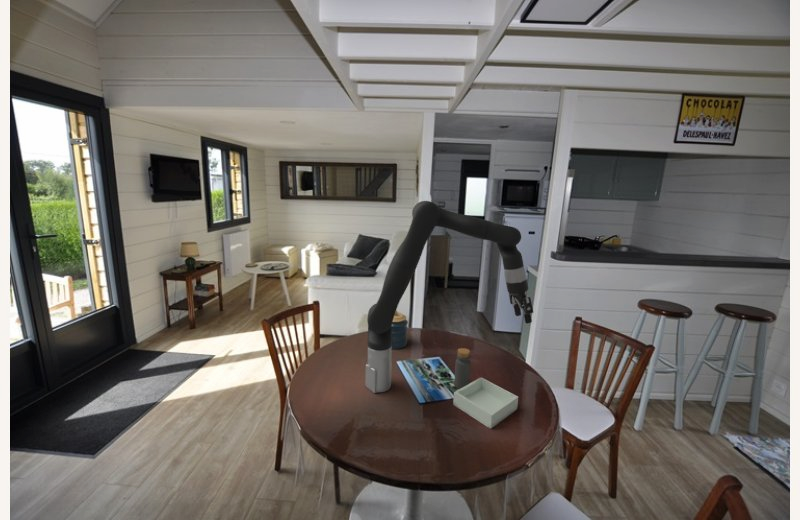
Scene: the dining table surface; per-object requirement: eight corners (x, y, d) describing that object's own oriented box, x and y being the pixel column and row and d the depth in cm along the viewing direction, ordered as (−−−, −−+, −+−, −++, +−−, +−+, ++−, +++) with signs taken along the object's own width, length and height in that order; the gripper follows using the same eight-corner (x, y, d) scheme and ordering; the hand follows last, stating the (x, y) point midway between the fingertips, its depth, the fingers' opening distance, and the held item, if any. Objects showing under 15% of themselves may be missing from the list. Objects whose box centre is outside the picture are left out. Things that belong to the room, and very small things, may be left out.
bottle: (469, 390, 128) (471, 355, 125) (453, 388, 129) (456, 353, 126) (469, 382, 134) (471, 348, 131) (454, 380, 135) (456, 346, 132)
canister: (383, 337, 173) (384, 305, 170) (408, 338, 172) (409, 306, 169) (379, 348, 161) (380, 314, 157) (406, 350, 159) (407, 316, 156)
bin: (490, 429, 107) (491, 415, 106) (453, 404, 119) (453, 392, 118) (517, 409, 118) (518, 396, 117) (480, 388, 130) (481, 377, 129)
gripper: (499, 277, 130) (506, 315, 133) (514, 285, 116) (522, 328, 118) (517, 272, 130) (524, 311, 133) (534, 280, 116) (542, 322, 119)
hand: (523, 319), depth 126 cm, fingers open, 8 cm apart
